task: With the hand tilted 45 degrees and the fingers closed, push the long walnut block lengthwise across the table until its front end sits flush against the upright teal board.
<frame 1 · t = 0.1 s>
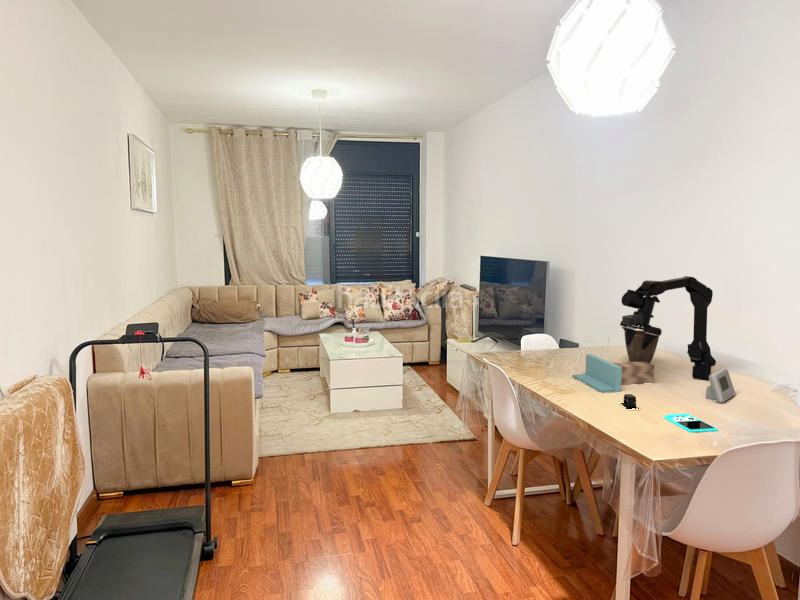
hand: (635, 347, 235), 15 cm above the table, tool pointing down, fingers open, 9 cm apart
walnut block: (631, 382, 240), on the table
digital clock: (721, 399, 217), on the table
handheld game console: (689, 425, 190), on the table
plant pot: (640, 367, 267), on the table
black block on plate: (629, 408, 209), on the table
teal board: (602, 383, 238), on the table
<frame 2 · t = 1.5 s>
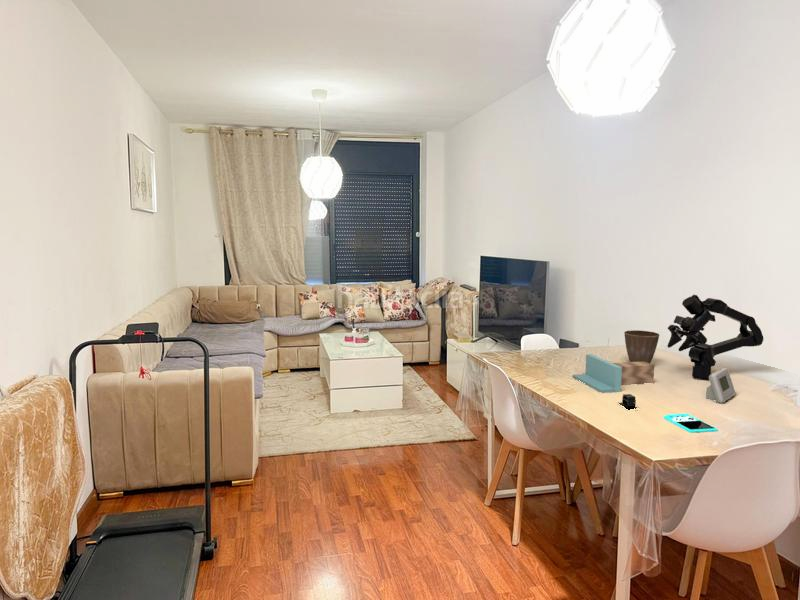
hand: (673, 348, 242), 14 cm above the table, tool tilted 45°, fingers open, 7 cm apart
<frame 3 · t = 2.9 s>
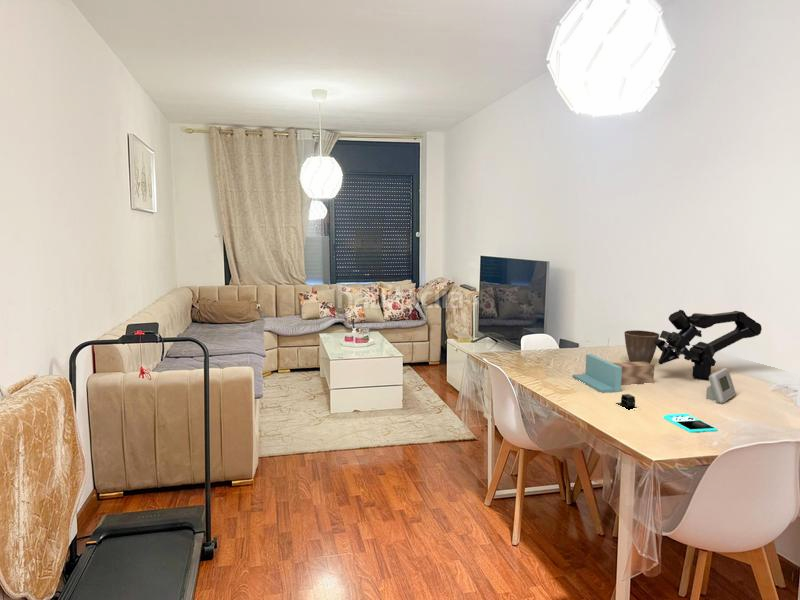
hand: (659, 363, 242), 7 cm above the table, tool tilted 45°, fingers closed
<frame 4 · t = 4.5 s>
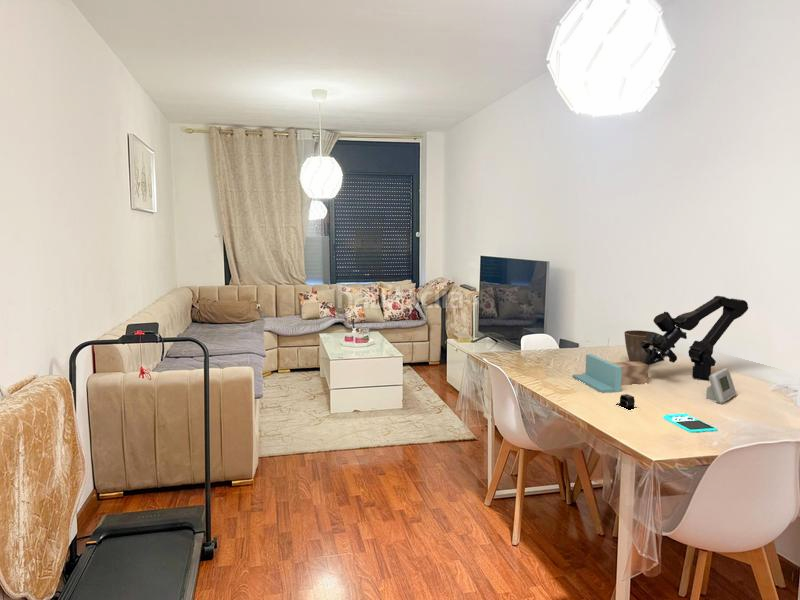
hand: (644, 365, 241), 7 cm above the table, tool tilted 45°, fingers closed, pressing on walnut block
walnut block: (625, 382, 240), on the table, touching gripper
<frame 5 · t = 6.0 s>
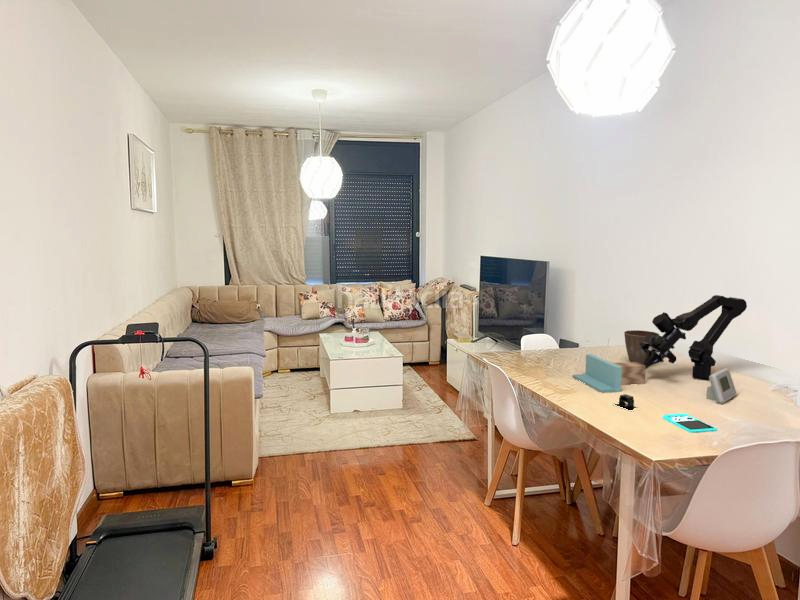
hand: (643, 366, 241), 6 cm above the table, tool tilted 45°, fingers closed
walnut block: (622, 383, 240), on the table
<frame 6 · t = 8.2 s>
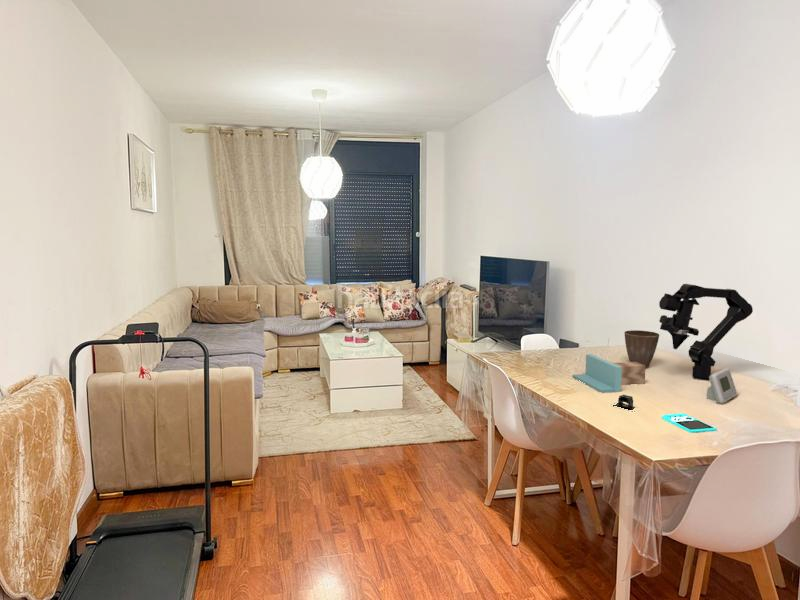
hand: (674, 349, 243), 13 cm above the table, tool pointing down, fingers closed
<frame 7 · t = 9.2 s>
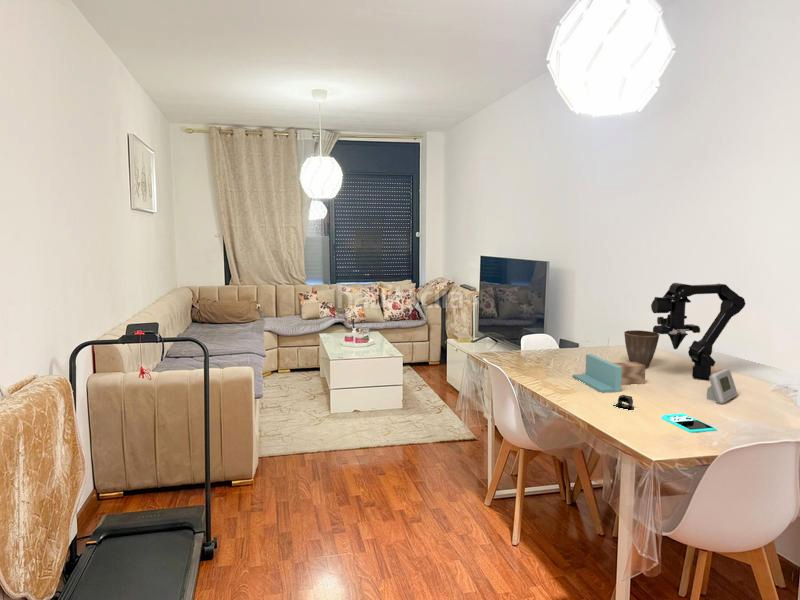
hand: (675, 349, 244), 13 cm above the table, tool pointing down, fingers closed
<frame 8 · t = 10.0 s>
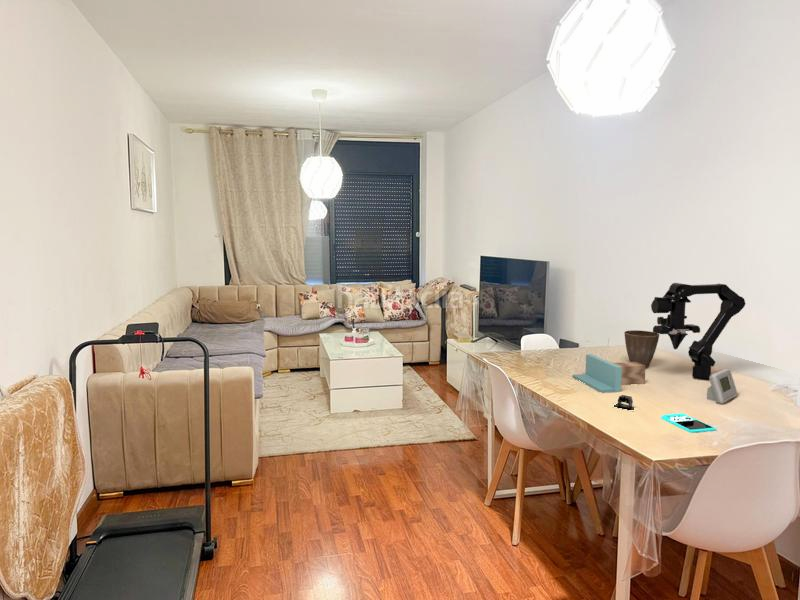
hand: (675, 349, 244), 13 cm above the table, tool pointing down, fingers closed
at the end: walnut block 0.1 cm from the target spot on the table beside the teal board, on the table; walnut block tilted 0° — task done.
